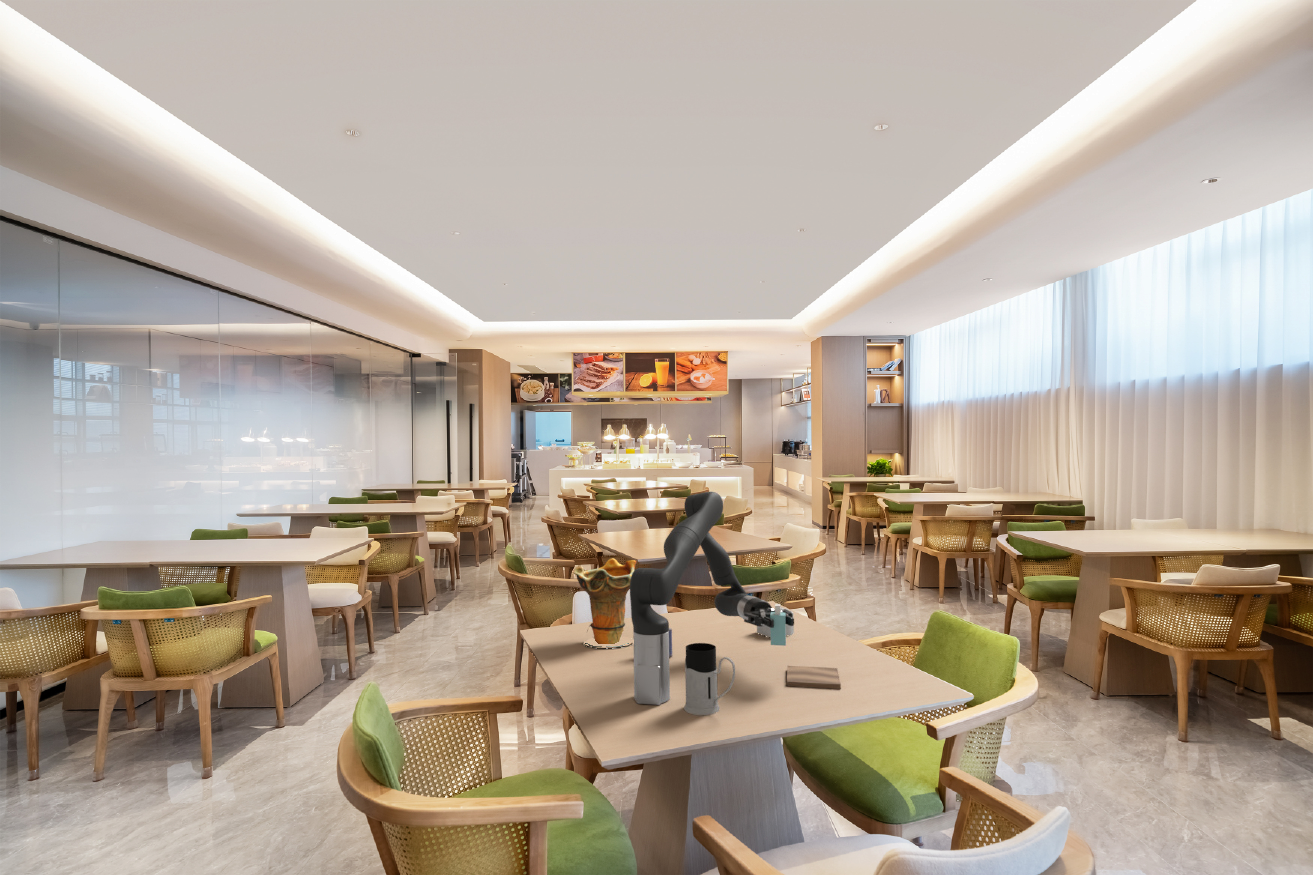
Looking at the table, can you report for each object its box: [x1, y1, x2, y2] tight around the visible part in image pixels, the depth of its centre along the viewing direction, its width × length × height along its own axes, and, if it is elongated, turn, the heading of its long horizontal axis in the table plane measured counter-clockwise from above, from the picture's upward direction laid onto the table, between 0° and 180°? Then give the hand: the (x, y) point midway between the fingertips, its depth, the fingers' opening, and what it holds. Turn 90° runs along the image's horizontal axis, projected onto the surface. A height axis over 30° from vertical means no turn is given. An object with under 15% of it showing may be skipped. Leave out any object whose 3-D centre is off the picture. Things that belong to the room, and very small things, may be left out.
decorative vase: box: [573, 557, 637, 648], centre depth 224 cm, size 21×23×28 cm
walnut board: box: [786, 665, 842, 690], centre depth 182 cm, size 14×14×1 cm
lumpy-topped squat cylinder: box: [756, 607, 795, 638], centre depth 232 cm, size 10×13×9 cm
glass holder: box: [683, 642, 736, 716], centre depth 160 cm, size 9×14×15 cm, turn 51°
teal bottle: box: [770, 603, 787, 647], centre depth 180 cm, size 4×4×10 cm
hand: (782, 622), depth 178 cm, fingers closed on teal bottle, 5 cm apart
